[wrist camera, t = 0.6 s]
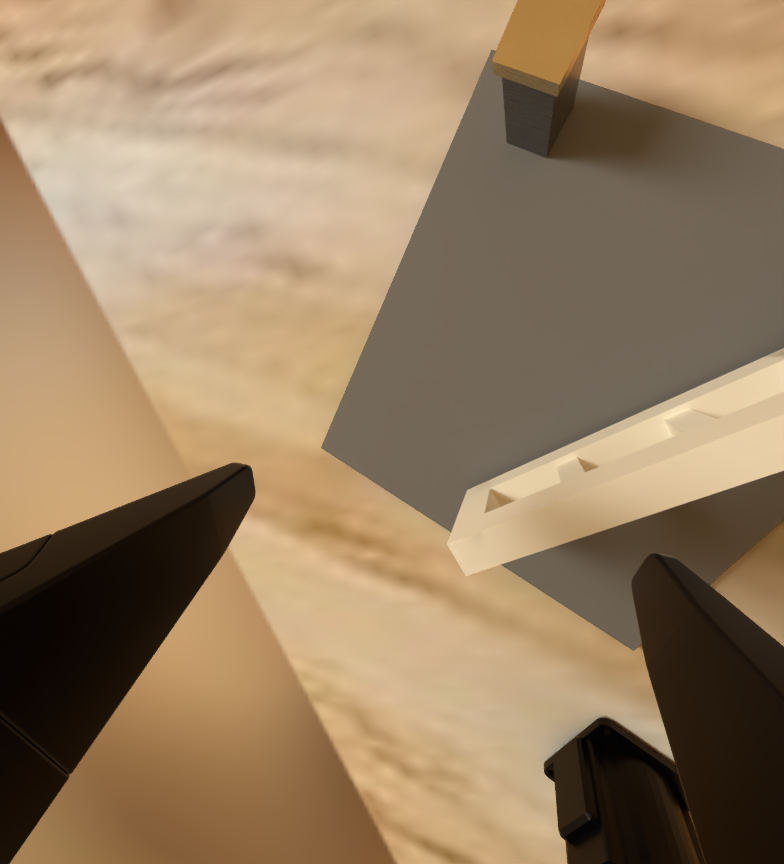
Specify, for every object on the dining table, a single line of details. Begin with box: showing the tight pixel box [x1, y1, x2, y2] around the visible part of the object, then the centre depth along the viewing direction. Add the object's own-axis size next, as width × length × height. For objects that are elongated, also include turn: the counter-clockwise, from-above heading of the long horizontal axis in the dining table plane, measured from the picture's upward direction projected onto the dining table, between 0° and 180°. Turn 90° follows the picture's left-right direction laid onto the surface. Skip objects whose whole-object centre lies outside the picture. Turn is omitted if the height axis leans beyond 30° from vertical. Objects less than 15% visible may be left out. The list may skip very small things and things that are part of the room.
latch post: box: [492, 0, 606, 158], centre depth 13 cm, size 2×2×6 cm
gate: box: [447, 348, 784, 576], centre depth 14 cm, size 16×2×6 cm, turn 124°
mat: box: [321, 50, 784, 651], centre depth 18 cm, size 22×22×1 cm
